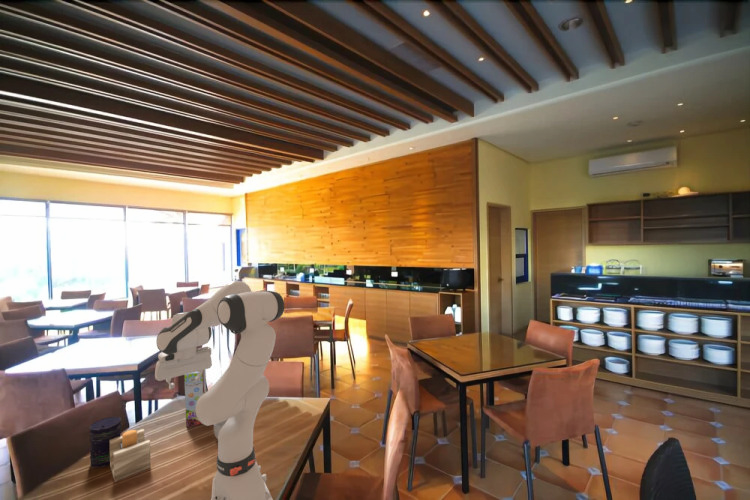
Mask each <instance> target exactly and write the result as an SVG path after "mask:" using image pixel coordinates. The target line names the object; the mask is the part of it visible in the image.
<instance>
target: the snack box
mask: <svg viewBox="0 0 750 500" xmlns="http://www.w3.org/2000/svg"><path fill="white" fill-rule="evenodd" d="M206 370H207V369H205V370H203V373H202V375H201V377H200V381H198V382H195V377H197V375H198V373H199V372H198V371H197V372H193V373H189V374H185V375H183V377H184V399H185V401H184V402H185V403H184V404H185V427H186V428H189V427H190V426H191V427H195V426H198V425H199V426H200V425H203V424H202V423H201V422H200V421H199V420H198V418H197V416H196V410H195V409H196V404H197V401H198V399H199V398H200V397H201V396H202V395H203V394H205V393H206V392H207V378H206V377H207V374H206V373H207V371H206Z"/></svg>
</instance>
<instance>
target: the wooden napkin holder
mask: <svg viewBox="0 0 750 500" xmlns="http://www.w3.org/2000/svg"><path fill="white" fill-rule="evenodd" d="M109 442H110V465H109V467H110V470H111V474H112V478H113V480H114V483H116V482H117V481H120V480H124V479H125V478H128V477H130V476H132V475H134V474H137V473H140V472H143V471H144V470H148V469H150V468H151V466H152V465H151V462H152V461H151V440H150V439H146V440H145V429H144V428H141V429H139V430H138V429H137V444H135V445H132V446H130V447H127V448H123V447H122V435H121V436H120V437H117V438H114V439H111V440H109Z"/></svg>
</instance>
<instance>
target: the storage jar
mask: <svg viewBox="0 0 750 500" xmlns="http://www.w3.org/2000/svg"><path fill="white" fill-rule="evenodd" d="M121 433H122V418H121V417H120V416H110V417H105V418H101V419H99V420H96V421H95V422H94V423H92V424H90V425H89V441H90V453H89V454H90V455H89V460H90V467H92V468H94V469H97V468H98V469H99V468H103V467H107V466H110V442H109V440H111V439H114V438H117V437H120V436H122V435H121Z"/></svg>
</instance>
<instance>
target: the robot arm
mask: <svg viewBox="0 0 750 500" xmlns="http://www.w3.org/2000/svg"><path fill="white" fill-rule="evenodd" d="M284 311H285V301H284V299H283V296H282V295H281V294H280V293H279V292H277V291H273V290H272V291H271V290H260V291H252V289H251V288H250V286H249V284H247V282H244V281H242V280H232V281H231V282H229V283H227V284H225V285H223V286H222V287H221V288H220V289H219V290H217V291H216V292H215V293H214V294H213V295H211V297H210V298H208V299H207V300H205V301H204V302H203V303H202V304H200V305H198V306H197V307H195V308H194V309H192V310H191V311H185V312H178V313H176V314H174V315H173V316H172V320H171V326H167V327H163V328H162V329H161V330H160V331H159V332H158V335H157V336H156V347H157V349H158V350H159V351H160V353H158V355H157V358H158V361H157V362H156V364H155V370H154V378H155V381H157V382H162V381H166V383H167V384H168V388H169V390H172V389H175V383H174V382H171V381H172V379H173V378H176V377H181V376H184V375H185V374H189V373H193V372H197V371H198V372H199V373H198V375H197V377H195V382H198V381H200V377H201V375H202V373H203V370H205V369H206V370H208V369H210V368H211V367H212V365H213V364H212V363H213V362H212V361H213V360H212V357H211V355H212V349H211V347H209V346H204V345H207V344H208V343H209V342H210V340H211V338H212V332H213V331H212V327H215V326H220V325H221V326H223V327H224V328H225V329H226V330H229V331H230V332H231V333H232V334H234V335H240V340H239V343H238V345H237V347H236V349H235V352H234V355H233V357H232V359H231V361H230V364H229V366H228V367H227V369H226V370H225V371H224V372H223V374H222V375H221V376H220V377H219V379H218V380H217V381H216V382H215V383H214V384H213V385H212V386H211V387H210V388H209V389H207V390H206V393H205V394H203V395H202V396H201V397H200V398H199V399H198V401H197V404H196V409H195V410H196V416H197V418H198V420H199V421H200V422H201V423H202V424H201V425H204V426H207V427H208V426H214V425H213V424H217V423H220V422H223V421H225V420H227V419H228V420H227V421H226V423H225V424H224V425H223V427H222V428H221V430H220V432H219V435H218V439H217V451H218V452H217V456H216V470H217V471H216V473H215V474H214V476H213V478H212V484H211V485H212V487H211V499H210V500H274V499H273V497H272V495H271V492H270V490H269V488H268V486H267V484H266V482H267V481H268V477H267V474H266V473H263V474H262V473H261V469H262V467H261V465H258V462H257V457H256V452H255V447H254V427H255V422H256V418H257V415H258V413H259V410H260V408H261V405H262V404H263V402H264V401H265V400H266V398H267V396H268V395H269V392H270V383H269V382H270V381H269V380H268V379H267V377H266V376H265V375H264V373H265V371H266V368H267V366H268V363H269V362H270V360H271V357H272V355H273V351H274V347H275V344H276V340H277V339H276V338H277V334H276V331H275V328H273V327H272V326H271V325H270V324H268V323H269V322H274V321H276V320H278V319H280V318H281V317H282V316H283V315H284ZM201 346H203V347H201ZM197 347H198V348H197Z"/></svg>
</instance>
